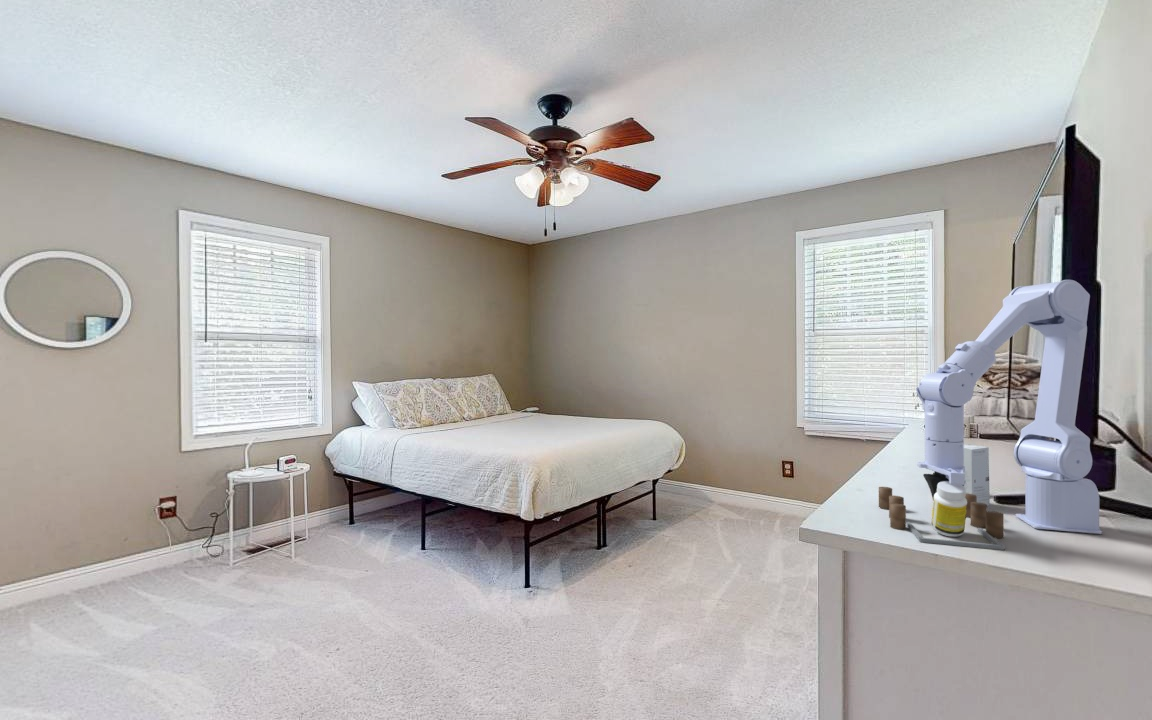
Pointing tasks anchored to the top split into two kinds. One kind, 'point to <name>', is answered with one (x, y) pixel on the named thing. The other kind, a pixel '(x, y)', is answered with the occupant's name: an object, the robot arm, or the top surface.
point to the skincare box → (977, 472)
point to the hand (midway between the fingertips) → (943, 515)
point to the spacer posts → (974, 510)
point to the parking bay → (994, 542)
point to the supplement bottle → (949, 509)
